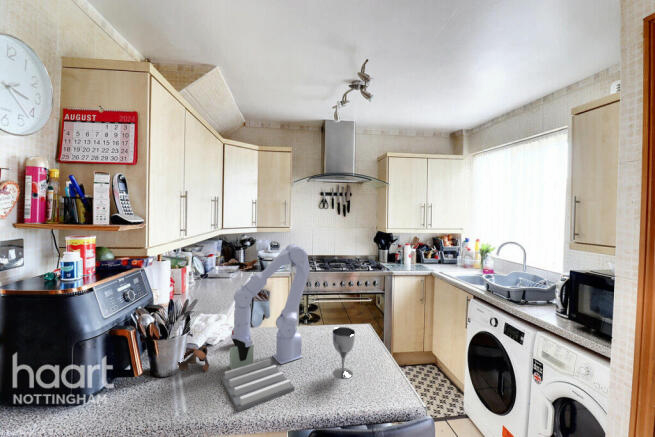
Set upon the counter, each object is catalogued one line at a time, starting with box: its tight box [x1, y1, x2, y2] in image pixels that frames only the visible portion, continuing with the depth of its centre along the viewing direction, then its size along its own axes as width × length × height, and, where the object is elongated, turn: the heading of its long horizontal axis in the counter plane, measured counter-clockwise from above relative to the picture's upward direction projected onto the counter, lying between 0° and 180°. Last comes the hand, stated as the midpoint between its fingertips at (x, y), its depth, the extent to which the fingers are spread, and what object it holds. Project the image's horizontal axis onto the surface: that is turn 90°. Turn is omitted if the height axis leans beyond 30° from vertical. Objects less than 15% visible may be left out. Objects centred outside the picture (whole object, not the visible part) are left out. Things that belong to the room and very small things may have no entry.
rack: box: [220, 358, 295, 413], centre depth 93 cm, size 18×18×3 cm
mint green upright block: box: [229, 343, 254, 370], centre depth 106 cm, size 8×2×7 cm, turn 125°
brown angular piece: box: [177, 345, 210, 373], centre depth 103 cm, size 12×10×8 cm
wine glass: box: [331, 326, 356, 380], centre depth 101 cm, size 8×8×15 cm
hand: (241, 358), depth 106 cm, fingers closed on mint green upright block, 2 cm apart
